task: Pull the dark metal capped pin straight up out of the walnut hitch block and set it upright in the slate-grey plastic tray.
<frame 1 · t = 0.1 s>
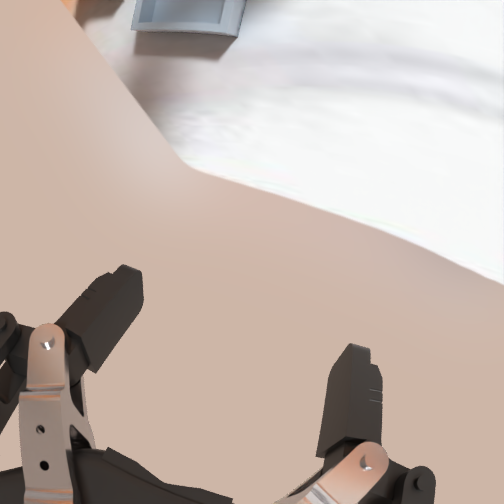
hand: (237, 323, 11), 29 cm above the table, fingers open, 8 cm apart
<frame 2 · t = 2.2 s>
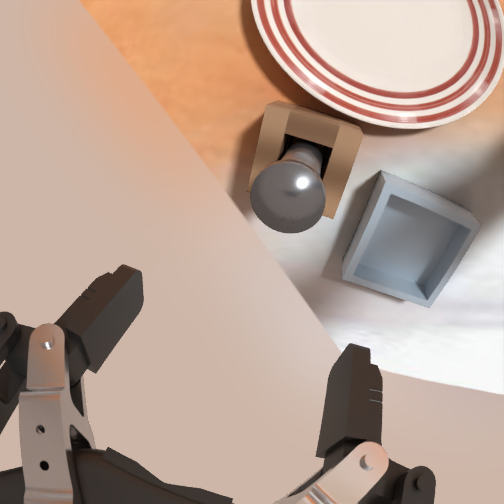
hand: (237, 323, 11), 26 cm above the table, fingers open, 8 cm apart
dinner plate: (385, 7, 20), on the table
hitch block: (308, 149, 31), on the table
tray: (407, 235, 33), on the table
pin: (300, 167, 25), in the hitch block
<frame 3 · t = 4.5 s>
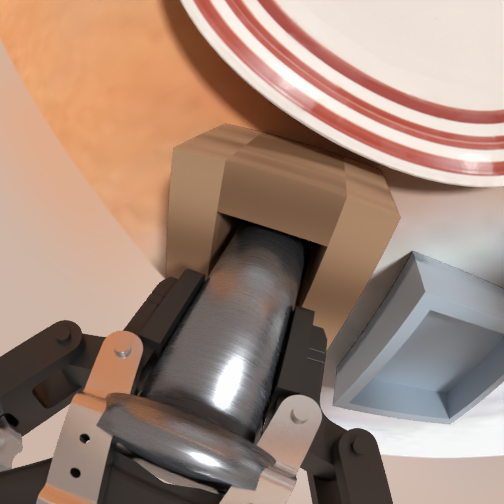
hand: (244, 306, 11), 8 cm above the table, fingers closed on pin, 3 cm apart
hitch block: (283, 213, 18), on the table
tray: (437, 339, 20), on the table
pin: (250, 294, 12), in the hitch block, touching gripper
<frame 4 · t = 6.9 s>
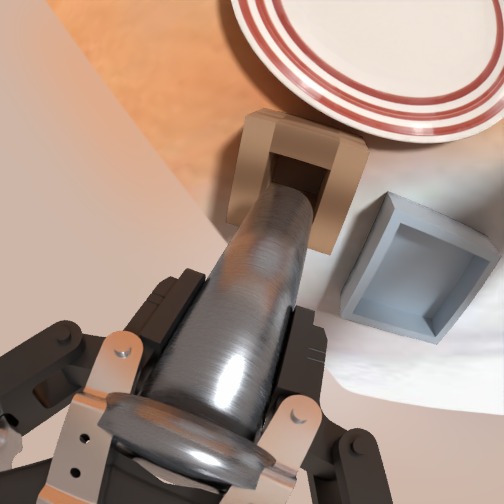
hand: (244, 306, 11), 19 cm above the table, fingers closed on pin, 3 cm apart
hitch block: (300, 166, 27), on the table
tray: (415, 265, 29), on the table
pin: (250, 294, 12), point 18 cm above the table, touching gripper
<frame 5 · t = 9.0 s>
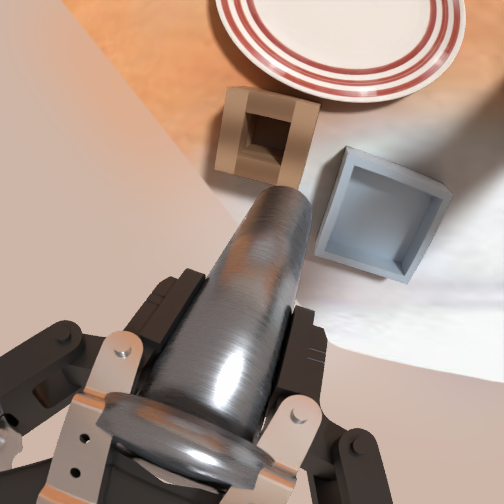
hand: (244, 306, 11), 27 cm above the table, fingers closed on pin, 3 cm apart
hitch block: (274, 129, 33), on the table
tray: (379, 211, 35), on the table
pin: (249, 294, 12), point 26 cm above the table, touching gripper
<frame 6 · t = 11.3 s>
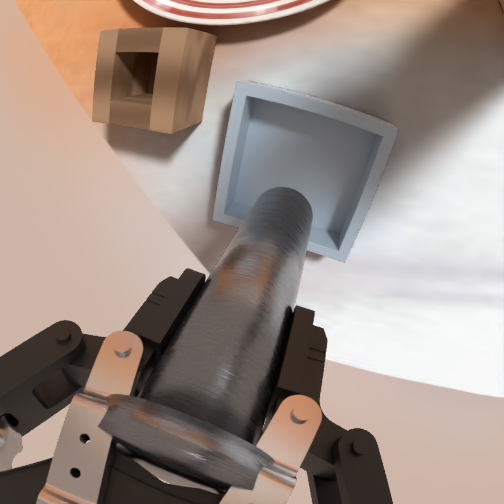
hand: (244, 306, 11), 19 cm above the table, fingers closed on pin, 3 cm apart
hitch block: (168, 74, 25), on the table
tray: (302, 163, 27), on the table
pin: (250, 296, 12), point 19 cm above the table, touching gripper
when the fingers open (11 cm above the table, at t = 13.3 s): pin moves 2 cm, resting on tray.
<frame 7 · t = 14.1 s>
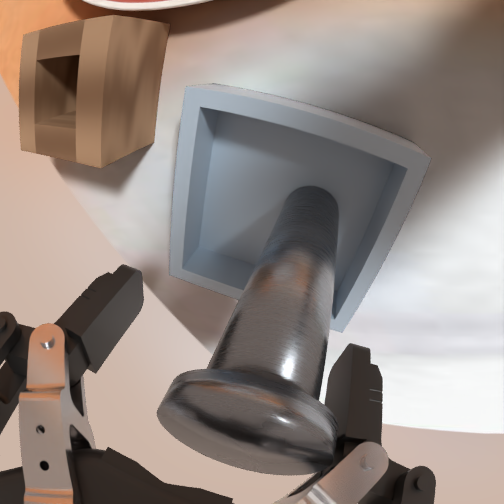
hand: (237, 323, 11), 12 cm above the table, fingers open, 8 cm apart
hitch block: (112, 80, 18), on the table
tray: (288, 198, 20), on the table
pin: (292, 284, 13), in the tray, point 8 cm above the table, touching gripper
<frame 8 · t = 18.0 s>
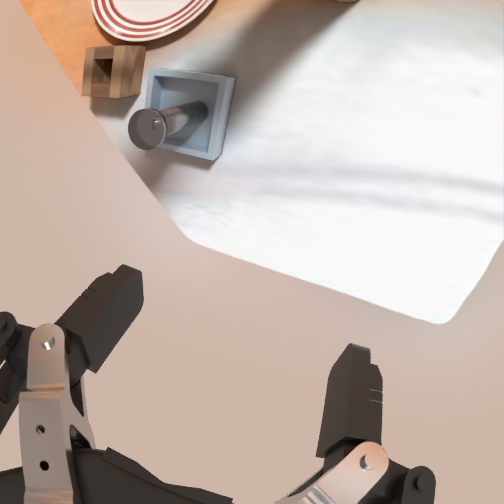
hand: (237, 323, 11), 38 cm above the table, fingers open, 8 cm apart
hitch block: (123, 69, 42), on the table
tray: (191, 109, 44), on the table
pin: (175, 118, 37), in the tray, point 8 cm above the table
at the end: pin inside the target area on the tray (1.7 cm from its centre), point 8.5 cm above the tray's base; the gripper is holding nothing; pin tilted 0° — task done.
